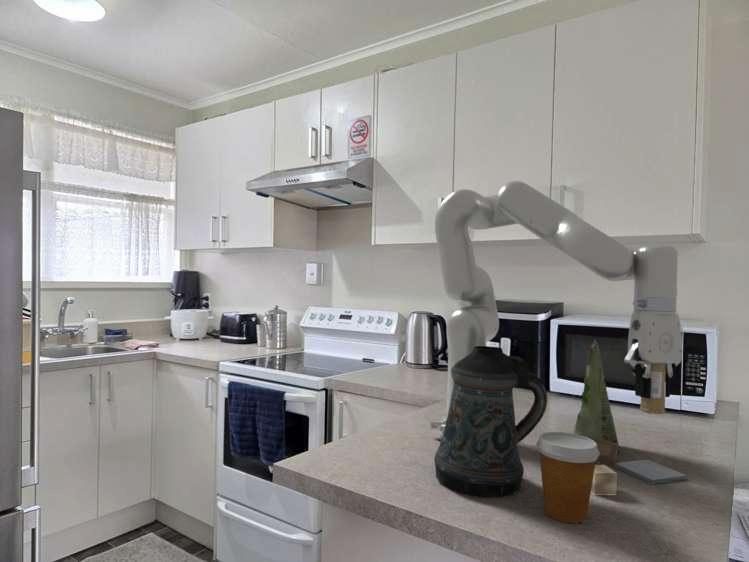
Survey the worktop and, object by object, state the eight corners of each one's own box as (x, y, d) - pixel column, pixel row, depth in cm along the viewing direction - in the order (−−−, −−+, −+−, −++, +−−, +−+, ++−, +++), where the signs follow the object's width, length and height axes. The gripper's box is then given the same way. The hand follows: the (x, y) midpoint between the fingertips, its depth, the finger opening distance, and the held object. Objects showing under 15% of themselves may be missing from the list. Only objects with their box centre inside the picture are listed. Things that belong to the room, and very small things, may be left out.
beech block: (594, 495, 86) (595, 473, 86) (583, 486, 89) (583, 464, 90) (616, 495, 86) (616, 473, 86) (603, 486, 90) (604, 465, 90)
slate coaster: (652, 484, 91) (652, 480, 91) (614, 467, 100) (614, 463, 100) (686, 479, 94) (686, 475, 94) (647, 463, 103) (647, 459, 103)
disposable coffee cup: (576, 535, 71) (578, 454, 71) (522, 509, 79) (524, 436, 79) (609, 518, 77) (611, 443, 77) (556, 496, 84) (558, 428, 84)
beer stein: (418, 469, 95) (422, 342, 95) (497, 458, 103) (501, 341, 103) (466, 505, 80) (471, 354, 80) (555, 489, 87) (560, 352, 88)
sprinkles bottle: (669, 413, 97) (671, 346, 97) (658, 415, 94) (660, 347, 94) (646, 408, 100) (648, 343, 101) (634, 410, 98) (636, 344, 98)
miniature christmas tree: (591, 457, 105) (595, 343, 106) (556, 440, 117) (559, 337, 117) (632, 454, 108) (635, 343, 109) (594, 437, 120) (597, 337, 120)
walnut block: (608, 466, 100) (609, 447, 101) (589, 460, 104) (590, 442, 104) (616, 462, 103) (617, 443, 103) (598, 456, 106) (598, 438, 106)
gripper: (639, 306, 91) (636, 402, 91) (702, 308, 97) (699, 398, 97) (607, 304, 98) (605, 394, 98) (668, 306, 104) (666, 390, 104)
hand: (652, 395), depth 97 cm, fingers closed on sprinkles bottle, 4 cm apart
